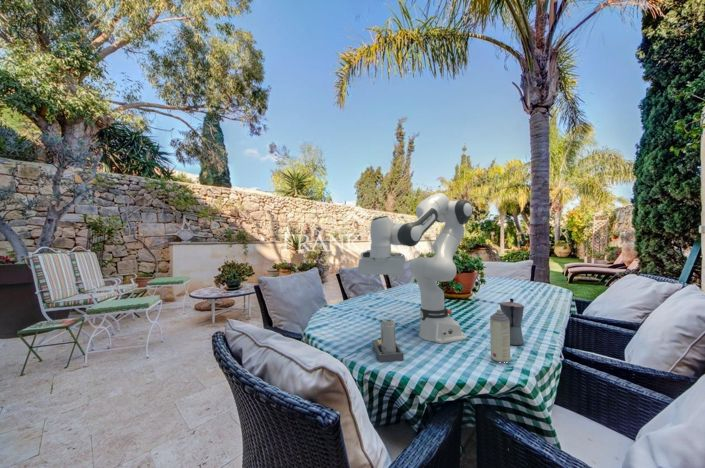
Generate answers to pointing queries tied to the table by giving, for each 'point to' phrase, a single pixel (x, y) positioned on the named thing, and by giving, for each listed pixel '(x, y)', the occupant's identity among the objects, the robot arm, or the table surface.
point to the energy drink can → (388, 336)
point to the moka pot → (514, 320)
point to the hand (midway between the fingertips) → (381, 284)
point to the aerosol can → (500, 337)
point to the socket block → (390, 356)
